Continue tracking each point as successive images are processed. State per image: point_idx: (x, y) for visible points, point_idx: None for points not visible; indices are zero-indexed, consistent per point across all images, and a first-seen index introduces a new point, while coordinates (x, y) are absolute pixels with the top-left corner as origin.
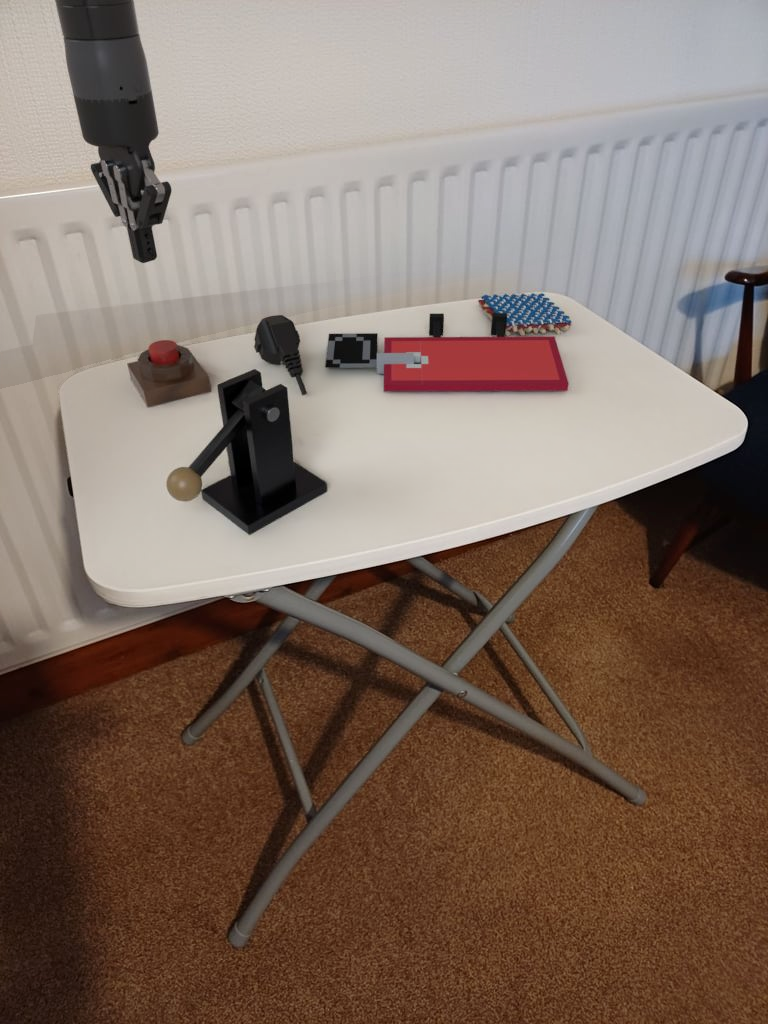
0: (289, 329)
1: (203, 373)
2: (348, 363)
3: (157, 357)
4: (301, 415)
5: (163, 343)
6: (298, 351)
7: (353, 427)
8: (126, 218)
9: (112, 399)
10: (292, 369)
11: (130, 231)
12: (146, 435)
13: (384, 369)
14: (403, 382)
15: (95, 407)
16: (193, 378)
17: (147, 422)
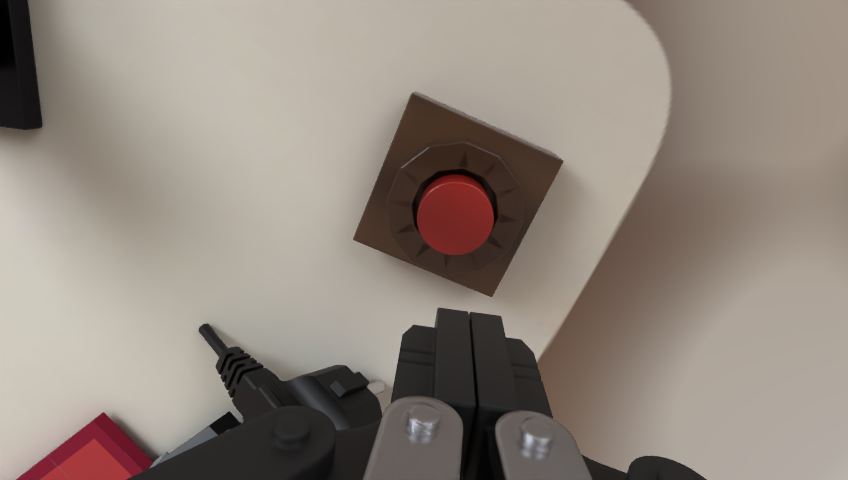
0: None
1: (370, 239)
2: None
3: (440, 182)
4: (151, 270)
5: (466, 230)
6: (233, 403)
7: (52, 296)
8: (502, 454)
9: (513, 62)
10: (225, 357)
11: (482, 396)
12: (317, 7)
13: (130, 459)
14: (74, 444)
15: (517, 8)
16: (369, 210)
17: (362, 47)
